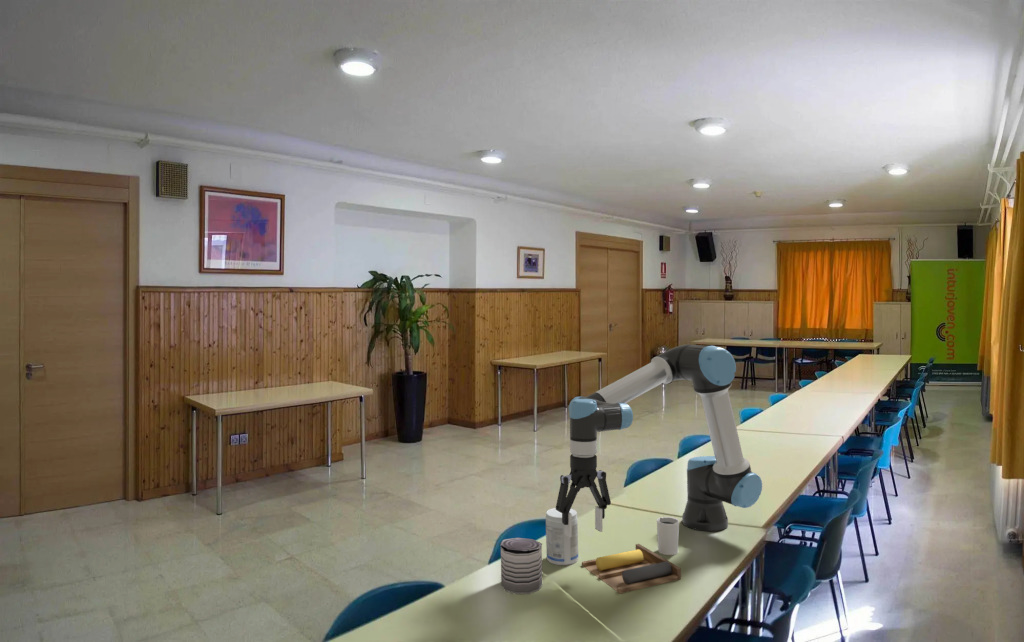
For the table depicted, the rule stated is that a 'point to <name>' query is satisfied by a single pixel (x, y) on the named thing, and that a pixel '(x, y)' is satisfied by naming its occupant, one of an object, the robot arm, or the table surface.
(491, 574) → the table surface
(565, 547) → the supplement tub
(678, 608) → the table surface
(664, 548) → the white cup
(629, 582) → the charcoal rod
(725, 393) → the robot arm
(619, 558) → the ochre rod
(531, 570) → the can
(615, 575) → the walnut slot rack
